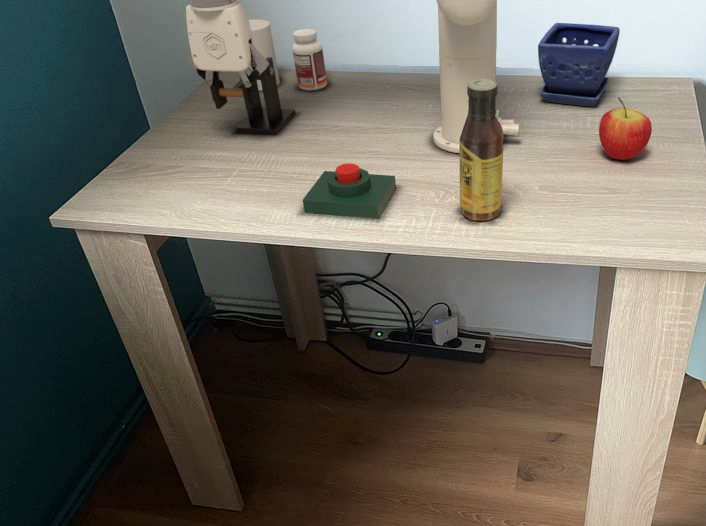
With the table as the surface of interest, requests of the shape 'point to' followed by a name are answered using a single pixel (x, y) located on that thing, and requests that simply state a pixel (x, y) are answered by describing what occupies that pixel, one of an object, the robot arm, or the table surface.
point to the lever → (235, 88)
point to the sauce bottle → (481, 154)
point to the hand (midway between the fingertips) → (236, 105)
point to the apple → (624, 132)
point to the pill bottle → (309, 60)
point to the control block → (350, 195)
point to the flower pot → (576, 62)
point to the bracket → (272, 115)
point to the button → (348, 173)
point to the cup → (264, 43)
